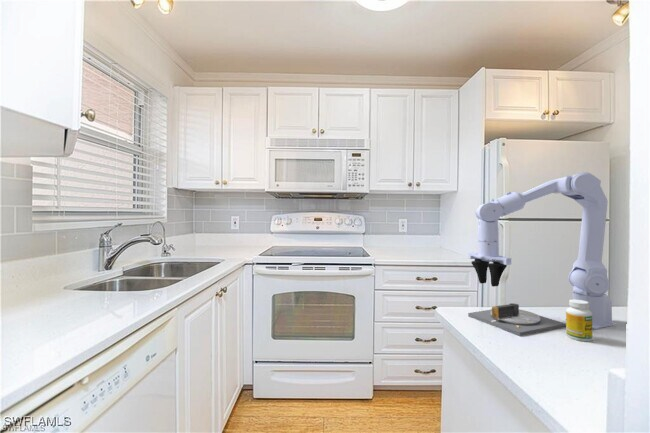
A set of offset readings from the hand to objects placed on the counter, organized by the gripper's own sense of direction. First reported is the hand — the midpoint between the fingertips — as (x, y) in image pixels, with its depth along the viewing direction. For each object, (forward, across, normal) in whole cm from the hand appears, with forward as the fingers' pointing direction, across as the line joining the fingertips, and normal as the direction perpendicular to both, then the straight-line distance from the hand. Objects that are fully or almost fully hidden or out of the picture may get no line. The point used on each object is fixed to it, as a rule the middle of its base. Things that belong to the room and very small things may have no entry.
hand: (488, 284), depth 100 cm
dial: (+9, +5, +3) cm, 11 cm away
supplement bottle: (+11, +21, +8) cm, 25 cm away
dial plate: (+10, +6, +4) cm, 12 cm away
